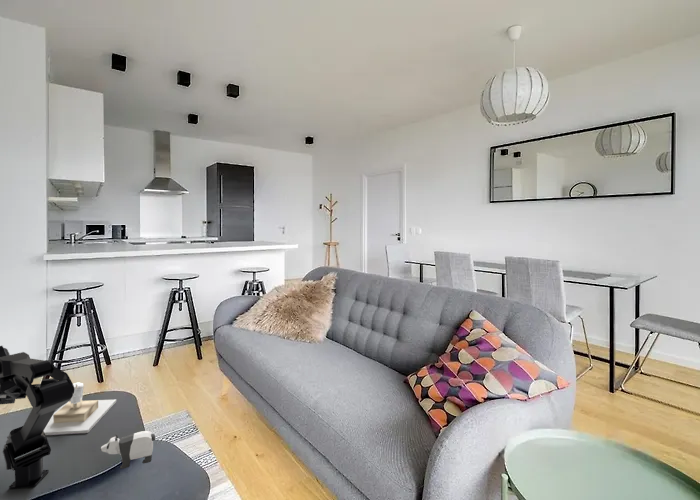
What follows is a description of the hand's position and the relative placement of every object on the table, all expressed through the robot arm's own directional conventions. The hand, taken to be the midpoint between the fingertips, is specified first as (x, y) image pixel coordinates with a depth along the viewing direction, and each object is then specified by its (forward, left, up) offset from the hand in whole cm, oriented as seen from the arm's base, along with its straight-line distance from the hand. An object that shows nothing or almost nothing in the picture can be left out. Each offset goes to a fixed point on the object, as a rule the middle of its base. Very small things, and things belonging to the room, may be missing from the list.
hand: (31, 400), depth 122 cm
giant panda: (-16, -37, -14) cm, 43 cm away
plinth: (+13, -7, -14) cm, 20 cm away
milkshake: (+12, -7, -10) cm, 17 cm away
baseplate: (+13, -7, -14) cm, 20 cm away
